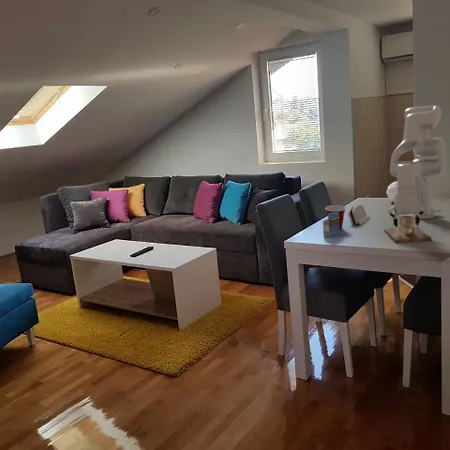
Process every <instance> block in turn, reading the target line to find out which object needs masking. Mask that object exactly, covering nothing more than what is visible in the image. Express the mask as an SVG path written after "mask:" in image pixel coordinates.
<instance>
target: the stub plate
mask: <svg viewBox="0 0 450 450" xmlns="http://www.w3.org/2000/svg"><path fill="white" fill-rule="evenodd" d="M414 230H415V234H413V235H412V228H408V235H403V234H402V233H401V232H400V231H399V227H389V228H384V233H385V234H386V235H387V236H388V237H389V238H390V239H391V240H392V242H394V243H395V244H399V243H400V244H401V243H403V244H404V243H415V242H427V241H428V242H429V241H432V236H430V235H429V234H428V233H427V232H425V231H424V230H423V229H421V228H420V227H419V225H416V226H415V225H414Z"/></svg>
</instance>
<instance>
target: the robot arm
mask: <svg viewBox="0 0 450 450" xmlns="http://www.w3.org/2000/svg"><path fill="white" fill-rule="evenodd" d="M441 118H442V109H441V107H440V106H439V105H437V104H433V105H432V104H431V105H422V106H412V107H411V106H410V107H408V108H406V109H405V110H404V128H403V129H404V130H403V134H402V135H403V137H402V142H400V143H399V145H398V146H397V147H396V148H395V149H394V151H393V152H392V153H391V158H390V165H389V174H390V175H391V176H392V177H393V178H394V177H395V178H396V179H397V180H396V181H397V193H396V194H395V202H393V203H394V205H393V206H391V207H390V208H388V209H387V213H388V214H389V216H391V218H392V219H393V223H392V224H393V226H394V228H399V215H406V214H410V215H411V216H413V217H414V225H416V226H419V225H420V223H421V220H422V219H423V220H425V219H426V220H427V219H432V218H435V216H436V213H441V212H442V209H441V208H434V207H433V203H432V202H433V201H432V200H433V197H432V196H433V193H432V191H433V188H432V187H433V186H432V183H431V180H430V179H429V178H428V177H442V176H445V174H446V172H447V146H446V141H445V139H444V138H443V137H439V136H436V137H431V135H430V131H431V130H433V129H435V128H436V127H437V126H438V124H439V122H440V120H441ZM410 151H412V153H413V155H414V156H416V157H421V158H416V159H413V160H409V161H408V160H407V161H406V160H403V161H399V159H400V157H401V156H402V155H404V154H406V153H407V152H410ZM422 157H424V158H422ZM425 157H426V158H425ZM429 157H430V158H429ZM392 211H394V213H392Z"/></svg>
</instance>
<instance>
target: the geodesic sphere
mask: <svg viewBox="0 0 450 450" xmlns="http://www.w3.org/2000/svg"><path fill="white" fill-rule="evenodd" d="M396 193H397V180H395V181H394V182H392V183H390V184H389V185H388V186H387V190H386V196H387V198H388V199H389V200H390V201H392V202H393V203H394V202H395V194H396Z"/></svg>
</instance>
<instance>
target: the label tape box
mask: <svg viewBox="0 0 450 450" xmlns="http://www.w3.org/2000/svg"><path fill="white" fill-rule="evenodd" d="M333 214H335V216H332V215H333ZM328 217H329V219H328ZM322 231H323V238H329V239H330V238H333V237H334V236H337V235H339V234H340V230H339V211H336V212H333V213H330V214H328V215H327V219H325V220H323V221H322Z"/></svg>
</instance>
